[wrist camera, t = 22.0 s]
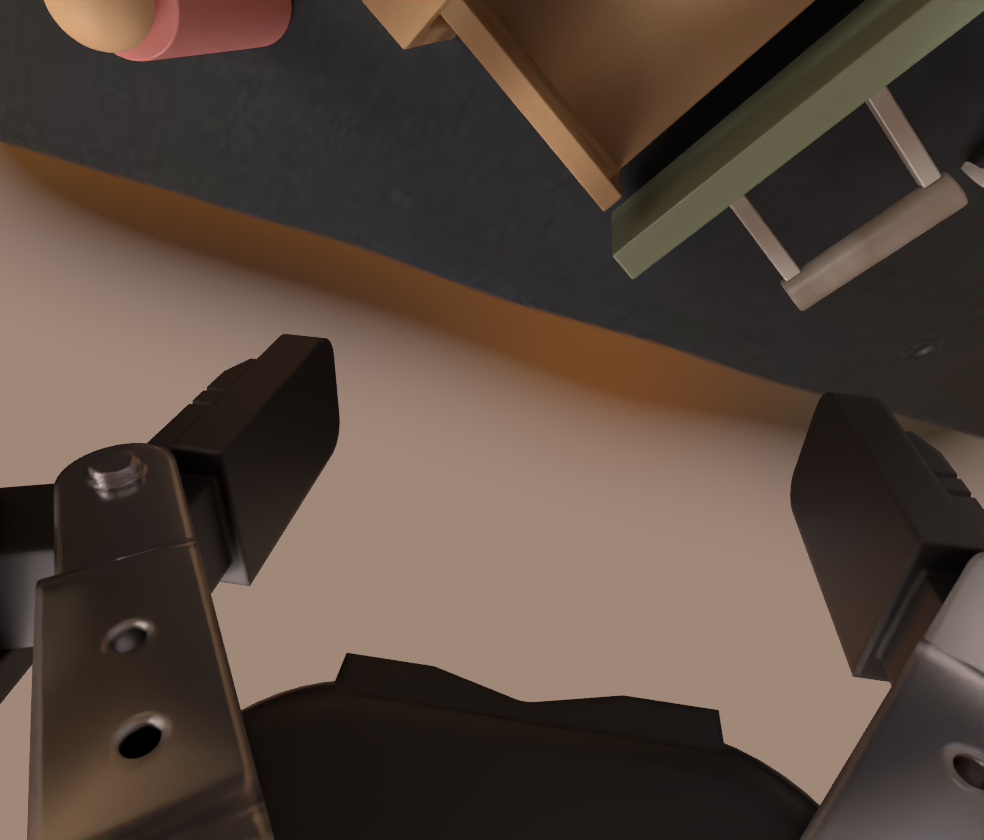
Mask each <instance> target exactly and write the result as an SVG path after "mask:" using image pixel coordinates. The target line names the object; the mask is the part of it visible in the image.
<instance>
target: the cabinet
mask: <svg viewBox="0 0 984 840" xmlns="http://www.w3.org/2000/svg"><path fill="white" fill-rule="evenodd" d="M451 1H452V0H362V2H363V3H364V4H365V5H366V6H367V7H368V9H369V10H370V11H371V12H372V13H373V14H374V16H375V17H376V18H377V19H378V20H379V21H380V23H381V24H382V25H383V26H384V27H385V28H386V29H387V31H388V32H389V33H390V34H391V35H392V36H393V38H394V39H395V40H396V41H397V42H398V43H399V45H400V46H401V47H402V48H403V49H404V50H405V49H409V48H412V47H416V46H421V45H425V44H430V43H435V42H439V41H444V40H448V39H453V38H454V37H455V36H456V35H457V34H456V33H455V31H454V30H453V29H452V28H451V26H450V25H449V24H448V23H447V22H446V20H445V19H444V18H443V17H442V16H441V12H442V11H443V10H444V9H445V8H446V7H447V5H448V4H449V3H450V2H451Z"/></svg>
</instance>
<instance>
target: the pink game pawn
mask: <svg viewBox="0 0 984 840" xmlns="http://www.w3.org/2000/svg"><path fill="white" fill-rule="evenodd" d="M44 2H45V4H46V7H47V8H48V10H49V12H50V14H51V15H52V17H53V18H54V20H55V21H56V22H57V23H58V25H59V26H60V27H61V28H62V29H63V30H64V31H65V32H66V33H67V34H68V35H69V36H71V37H72V38H73V39H75V40H76V41H78V42H79V43H81V44H83V45H85V46H87V47H89V48H92V49H95V50H98V51H102V52H113V53H115V54H116V55H118V56H120V57H123V58H125V59H129V60H133V61H150V60H159V59H167V58H175V57H183V56H192V55H200V54H208V53H217V52H225V51H233V50H241V49H250V48H258V47H265V46H269V45H271V44H273V43H275V42H276V41H278V40H279V39H280V38H281V37H282V36H283V34H284V33H285V31H286V30H287V27H288V25H289V22H290V18H291V10H292V3H291V0H44Z"/></svg>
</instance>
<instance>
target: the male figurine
mask: <svg viewBox="0 0 984 840" xmlns="http://www.w3.org/2000/svg"><path fill="white" fill-rule="evenodd" d="M961 169H962V170H963V171H964V172H965V173H966V174H967V175H968V176H969V177H970V178H971V179H972V180H974V181H975V182H976V183H978V184H979V185H980V186H981V187H983V188H984V169H982V168H978V167H977V166H976V165H974V164H972V163H970V162H965V163H964V164H963V166H962V167H961Z"/></svg>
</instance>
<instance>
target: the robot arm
mask: <svg viewBox="0 0 984 840" xmlns="http://www.w3.org/2000/svg"><path fill="white" fill-rule="evenodd" d="M339 422H340V420H339V408H338V396H337V385H336V374H335V363H334V353H333V348H332V345H331V343H330V341H329V340H328V339H326V338H318V337H307V336H299V335H289V334H283V335H281V336H280V337H279V338H278V339H277V340H276V341H275V342H274V343H273V344H272V345H271V346H270V347H269V348H268V349H267V350H266V351H265V352H264V353H263V354H262V355H261V356H260V357H258V358H257V359H249V360H247V361H245V362H243V363H240V364H238V365H236V366H234V367H232V368H230V369H228V370H226V371H224V372H223V373H222V374H221V375H220V376H219V377H217V379H215V380H214V381H213V382H212V383H211V384H210V385H209V386H208V387H207V391H203V392H201V393H200V394H199V395H198V396H197V397H196V398H195V399H194V400H193V404H189V405H187V406H186V407H185V408H184V409H183V410H182V411H181V412H180V413H179V414H178V415H177V416H176V417H175V418H174V419H172V420H171V421H170V422H169V423H168V424H167V425H166V426H165V427H164V428H163V429H162V430H161V431H160V432H159V433H157V434H156V435H155V436H154V437H153V438H152V439H151V440H150V441H149V442H148V443H147V444H146V443H130V444H121V445H115V446H111V447H107V448H103V449H100V450H97V451H94V452H92V453H89V454H87V455H85V456H83V457H81V458H79V459H77V460H76V461H74V462H73V463H71V464H70V465H68V466H67V467H66V468H65V469H64V470H63V471H62V472H61V473H60V475H59V476H58V477H57V479H56V481H55V484H45V485H32V486H19V487H6V488H0V703H1V702H2V701H3V700H4V699H5V697H6V696H7V695H8V694H9V692H10V691H11V690H12V689H13V687H14V686H15V685H16V684H17V682H18V681H19V680H20V679H21V678H22V676H23V675H24V674H25V673H26V671H27V670H28V669H29V668H30V666H31V665H32V664H33V668H32V699H31V733H30V764H29V796H28V828H27V840H984V509H983V508H982V507H981V505H980V504H979V503H978V501H977V500H976V499H975V498H971V492H970V491H969V490H968V488H967V487H966V486H965V484H964V483H963V482H962V480H961V479H957V474H956V472H955V471H954V470H953V468H952V467H951V466H950V464H949V463H948V462H947V460H946V459H945V458H944V456H943V455H942V454H941V453H940V452H939V451H938V450H936V449H935V448H934V447H932V446H931V445H929V444H928V443H927V442H925V441H924V440H922V439H921V438H920V437H918V436H917V435H915V434H914V433H913V432H908V431H904V430H903V428H902V427H901V426H900V424H899V423H898V421H897V420H896V419H895V417H894V416H893V414H892V413H891V411H890V410H889V409H888V407H887V406H886V404H885V403H884V402H883V400H882V399H881V398H879V397H872V396H862V395H853V394H843V393H834V392H827V393H825V394H824V395H823V396H822V397H821V398H820V400H819V402H818V404H817V407H816V409H815V412H814V415H813V418H812V420H811V424H810V426H809V430H808V432H807V435H806V438H805V441H804V444H803V447H802V450H801V453H800V455H799V459H798V462H797V464H796V467H795V470H794V473H793V477H792V482H791V493H790V497H791V508H792V511H793V514H794V517H795V520H796V523H797V525H798V528H799V531H800V534H801V536H802V539H803V542H804V544H805V547H806V550H807V553H808V555H809V558H810V560H811V563H812V566H813V569H814V572H815V574H816V577H817V580H818V582H819V585H820V587H821V590H822V593H823V596H824V599H825V601H826V604H827V607H828V609H829V612H830V615H831V618H832V620H833V623H834V626H835V629H836V631H837V634H838V637H839V639H840V642H841V645H842V648H843V650H844V653H845V656H846V658H847V661H848V664H849V667H850V669H851V672H852V675H853V676H854V677H861V678H867V679H874V680H881V681H887V682H890V683H891V685H892V687H891V689H890V690H889V692H888V694H887V696H886V697H885V699H884V700H883V702H882V704H881V705H880V707H879V709H878V710H877V712H876V714H875V715H874V717H873V719H872V720H871V722H870V724H869V725H868V727H867V728H866V730H865V732H864V733H863V735H862V737H861V739H860V740H859V742H858V743H857V745H856V747H855V749H854V750H853V752H852V754H851V755H850V757H849V758H848V760H847V762H846V763H845V765H844V767H843V768H842V770H841V772H840V774H839V775H838V777H837V779H836V780H835V782H834V783H833V785H832V787H831V788H830V790H829V792H828V793H827V795H826V797H825V798H824V800H823V802H822V803H821V805H819V804H818V803H816V802H815V801H814V800H813V799H812V798H811V797H810V796H809V795H808V794H807V793H806V792H804V791H803V790H802V789H800V788H799V787H798V786H796V785H795V784H794V783H793V782H791V781H790V780H789V779H787V778H786V777H785V776H783V775H782V774H780V773H779V772H777V771H776V770H774V769H773V768H771V767H769V766H768V765H766V764H765V763H763V762H762V761H760V760H758V759H756V758H754V757H752V756H750V755H748V754H746V753H744V752H743V751H740V750H739V749H737V748H734V747H732V746H729V745H727V744H725V743H724V742H723V735H722V729H721V723H720V716H719V710H714V709H707V708H700V707H694V706H688V705H681V704H675V703H668V702H662V701H655V700H649V699H642V698H636V697H629V696H610V697H597V698H584V699H570V700H558V701H544V702H524V701H519V700H516V699H514V698H511V697H509V696H506V695H504V694H501V693H499V692H496V691H494V690H491V689H489V688H486V687H484V686H482V685H479V684H477V683H474V682H472V681H469V680H467V679H464V678H462V677H459V676H457V675H454V674H452V673H449V672H447V671H444V670H442V669H439V668H437V667H434V666H429V665H422V664H415V663H409V662H403V661H396V660H390V659H383V658H377V657H370V656H364V655H357V654H351V653H347V654H346V656H345V659H344V661H343V663H342V666H341V668H340V671H339V673H338V675H337V678H336V680H335V681H333V682H323V683H318V684H312V685H307V686H302V687H298V688H295V689H291V690H288V691H285V692H281V693H278V694H276V695H273V696H271V697H268V698H266V699H264V700H261V701H259V702H256V703H254V704H252V705H251V706H249V707H247V708H245V709H243V710H241V709H240V706H239V702H238V698H237V694H236V690H235V687H234V682H233V679H232V675H231V671H230V667H229V663H228V659H227V655H226V651H225V648H224V644H223V640H222V636H221V632H220V628H219V624H218V620H217V616H216V612H215V609H214V605H213V601H212V597H211V593H212V592H213V590H214V589H215V587H216V586H217V584H218V583H219V582H225V583H232V584H239V585H246V586H250V585H251V583H252V582H253V580H254V578H255V577H256V575H257V574H258V572H259V570H260V569H261V567H262V565H263V564H264V562H265V561H266V559H267V558H268V556H269V554H270V553H271V551H272V550H273V548H274V546H275V545H276V543H277V541H278V540H279V538H280V537H281V535H282V534H283V532H284V530H285V529H286V527H287V526H288V524H289V522H290V521H291V519H292V518H293V516H294V515H295V513H296V511H297V510H298V508H299V507H300V505H301V503H302V502H303V500H304V498H305V497H306V495H307V494H308V492H309V491H310V489H311V487H312V486H313V484H314V483H315V481H316V479H317V478H318V476H319V475H320V473H321V471H322V470H323V468H324V467H325V465H326V463H327V462H328V460H329V459H330V457H331V455H332V454H333V451H334V449H335V447H336V444H337V440H338V435H339V424H340V423H339Z"/></svg>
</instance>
